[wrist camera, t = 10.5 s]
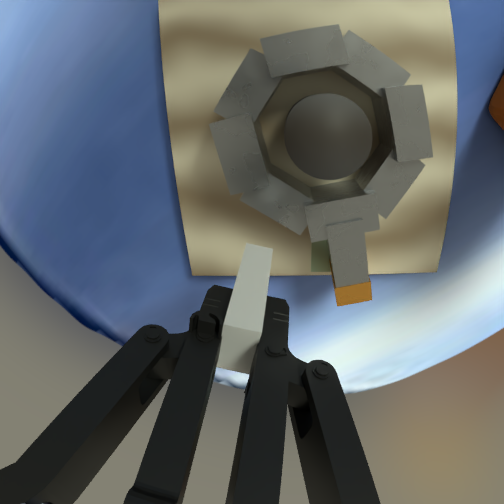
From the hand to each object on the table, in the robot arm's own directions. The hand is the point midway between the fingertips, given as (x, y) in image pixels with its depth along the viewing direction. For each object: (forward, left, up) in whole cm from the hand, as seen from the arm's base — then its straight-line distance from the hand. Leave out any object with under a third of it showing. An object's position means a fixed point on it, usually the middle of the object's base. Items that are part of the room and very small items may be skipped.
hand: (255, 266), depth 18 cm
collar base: (-7, +4, -9) cm, 12 cm away
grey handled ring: (-4, +5, -7) cm, 9 cm away
